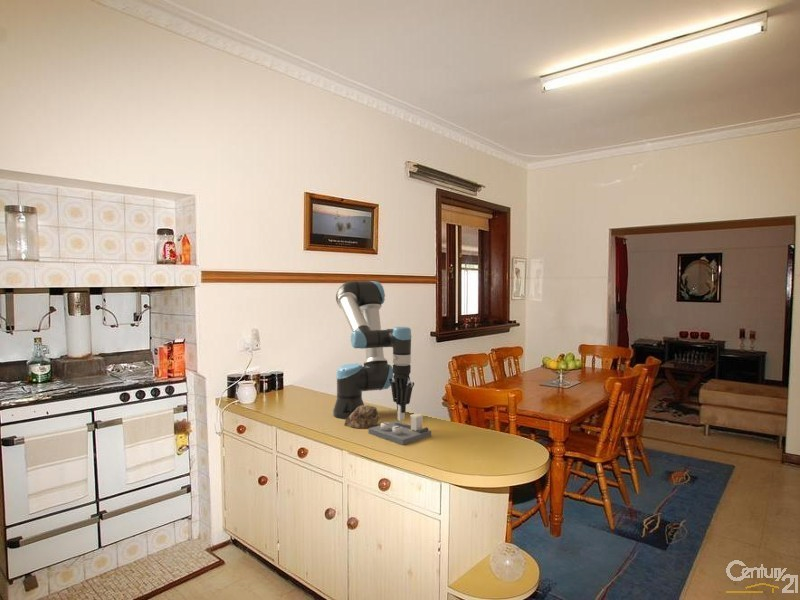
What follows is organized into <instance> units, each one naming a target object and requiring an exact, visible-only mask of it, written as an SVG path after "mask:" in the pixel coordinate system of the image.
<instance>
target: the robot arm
mask: <svg viewBox="0 0 800 600" xmlns="http://www.w3.org/2000/svg"><path fill="white" fill-rule="evenodd" d="M385 297H386V294H385V289H384V286H383V285H382V284H381V283H380V282H379V281H373V280H368V281H367V280H366V281H365V280H364V281H362V280H355V281H354V280H350V281H346V282H344V283H343V284H342V285H340V286H339V288H338V290H337V291H336V294H335V302H336V305H337V306H338V308H339V309H341V310H342V312H343V314H344V316H345V318H346V321H347V323H348V325H349V328H350V329H351V334H350V343H351V346H352V347H353V349H360V350H361V349H362V350H363V349H364V350H365V361H364V362H363V365H362V363H348V364H343V365H341V366H339V367H338V368H337V370H336V401H335V404H334V406H333V410H332V416H333V417H335V418H338V419H343V420H344V419H345V420H347V418H348V417H349V416H350V414H351V413H352V412H353V411H354V410H356V409H357V407H358V406H360V405H364V406H365V402H364V400H363V396H362V394H363V392H370V391H382V390H388V389H389V388H390V387H391V388H390V389H391V395H392V401H393V402H394V403H395V404H396V412H397V421H399V422H401V421H404V420H406V418H405V416H406V414H405V413H406V412H407V411H406V409H407V408H406V406H407V405H409V404H410V402H411V397H412V392H413V388H414V385H415V382H414V381H413V382H412V381H411V377H410V374H411V369H412V366H411V363H412V359H411V358H412V357H411V356H412V351H411V350H412V329H411V328H410V327H408V326H395V327H394V328H386V329H382V326H381V316H380V310H381V308H382V307H383V306H382V305H383V304H384V302H385V300H386V299H385ZM384 348H392V363H393V364H392V365H391V364H388V359H387V358H385V355H384V354H385V353H384Z"/></svg>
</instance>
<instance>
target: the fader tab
mask: <svg viewBox="0 0 800 600" xmlns="http://www.w3.org/2000/svg"><path fill="white" fill-rule="evenodd" d="M409 417H410V425H411V429H412V430H415V431H418V430H419V429H423V418H424V414H422V413H418V412H416V413H413V414H410V416H409Z"/></svg>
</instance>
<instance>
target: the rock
mask: <svg viewBox="0 0 800 600" xmlns="http://www.w3.org/2000/svg"><path fill="white" fill-rule="evenodd" d="M379 418H380V414H379V412H378V410H377V407H376V406H373V405H365V404H364V405H360V406H358V407H357V409H356V410H354V411H353V412H352V413H351V414H350V416H349V417H348V418H347V419H345V421H344V423H343V426H344V427H349V428H354V429H368V428H372V427H376V426H378V425H377V424H378V423H379Z"/></svg>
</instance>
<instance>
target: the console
mask: <svg viewBox="0 0 800 600" xmlns="http://www.w3.org/2000/svg"><path fill="white" fill-rule="evenodd" d="M367 429H368V431H367V433H368V434H369V435H372V436H375V437H378V438H380V439H384V440H386V441H389V442H393V443H395V444H398V445H402V446H404V445H407V444H411V443H413V442H416V441H420V440H423V439H426V438H430V437H432V431H431V430H429V427H428V426H427V427H422V429H419V430H418V431H415V430H412V429H411V424H408V423H405V422H401V421H399V420H395V421H391V422H384V421H383V422H381V423H380V425H376V426H372V427H368V428H367Z"/></svg>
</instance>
